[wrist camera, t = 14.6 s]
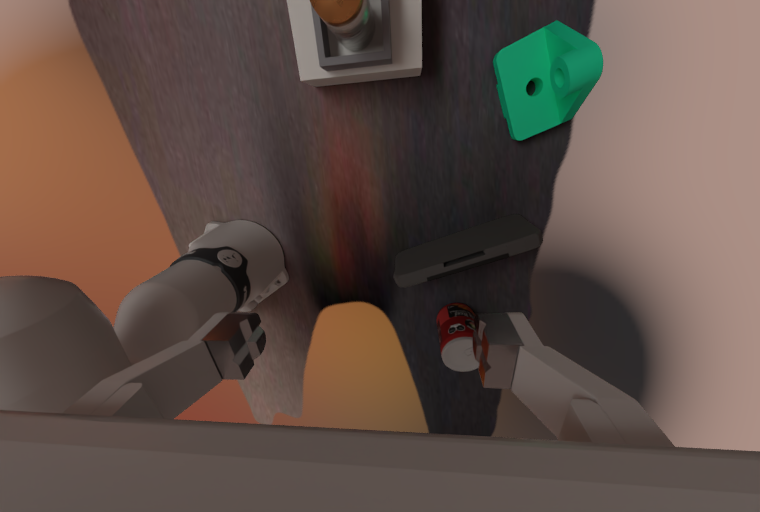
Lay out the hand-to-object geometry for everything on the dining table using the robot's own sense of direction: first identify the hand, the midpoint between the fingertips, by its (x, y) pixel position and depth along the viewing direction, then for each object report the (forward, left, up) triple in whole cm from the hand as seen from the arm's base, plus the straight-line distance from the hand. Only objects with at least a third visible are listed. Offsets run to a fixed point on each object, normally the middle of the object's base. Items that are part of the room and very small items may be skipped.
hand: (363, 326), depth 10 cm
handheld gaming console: (-2, -16, -40) cm, 43 cm away
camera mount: (+21, -6, -40) cm, 45 cm away
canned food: (-14, -29, -39) cm, 51 cm away
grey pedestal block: (+10, +16, -39) cm, 43 cm away
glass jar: (+10, +16, -33) cm, 38 cm away
